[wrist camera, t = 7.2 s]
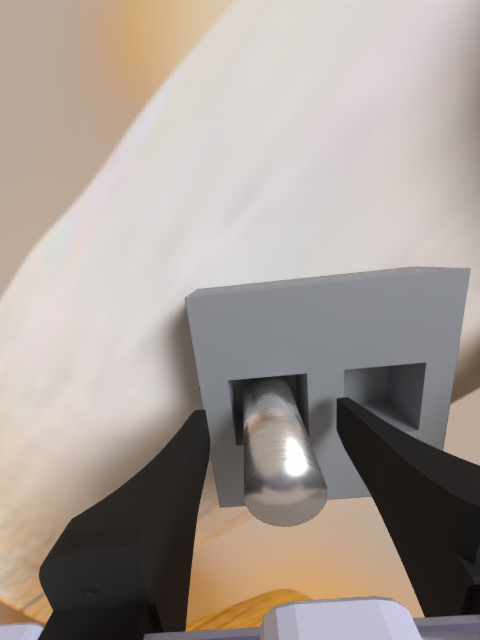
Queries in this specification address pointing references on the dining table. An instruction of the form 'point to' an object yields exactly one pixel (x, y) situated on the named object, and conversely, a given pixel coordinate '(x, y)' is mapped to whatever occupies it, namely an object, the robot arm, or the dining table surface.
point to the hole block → (329, 359)
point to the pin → (278, 456)
